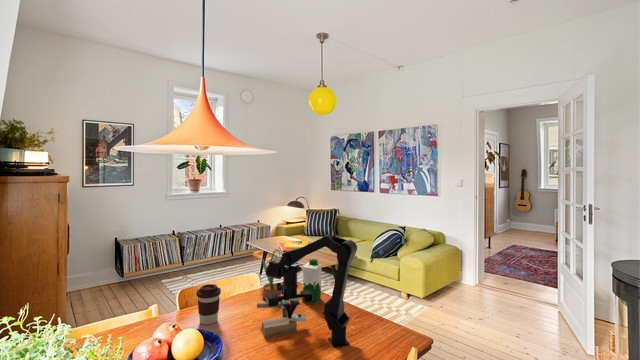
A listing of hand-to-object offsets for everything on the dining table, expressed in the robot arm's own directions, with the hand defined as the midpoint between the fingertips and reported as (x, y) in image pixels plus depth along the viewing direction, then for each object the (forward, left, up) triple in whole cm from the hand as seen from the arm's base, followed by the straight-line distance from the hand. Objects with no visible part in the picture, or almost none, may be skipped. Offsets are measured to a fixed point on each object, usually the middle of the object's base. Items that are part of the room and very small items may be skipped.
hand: (289, 318), depth 133 cm
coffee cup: (+18, +31, -5) cm, 36 cm away
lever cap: (0, -4, -1) cm, 4 cm away
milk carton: (+24, -18, -5) cm, 31 cm away
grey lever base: (+3, +4, -5) cm, 7 cm away
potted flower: (+35, -1, -5) cm, 36 cm away
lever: (+9, +5, +2) cm, 11 cm away
